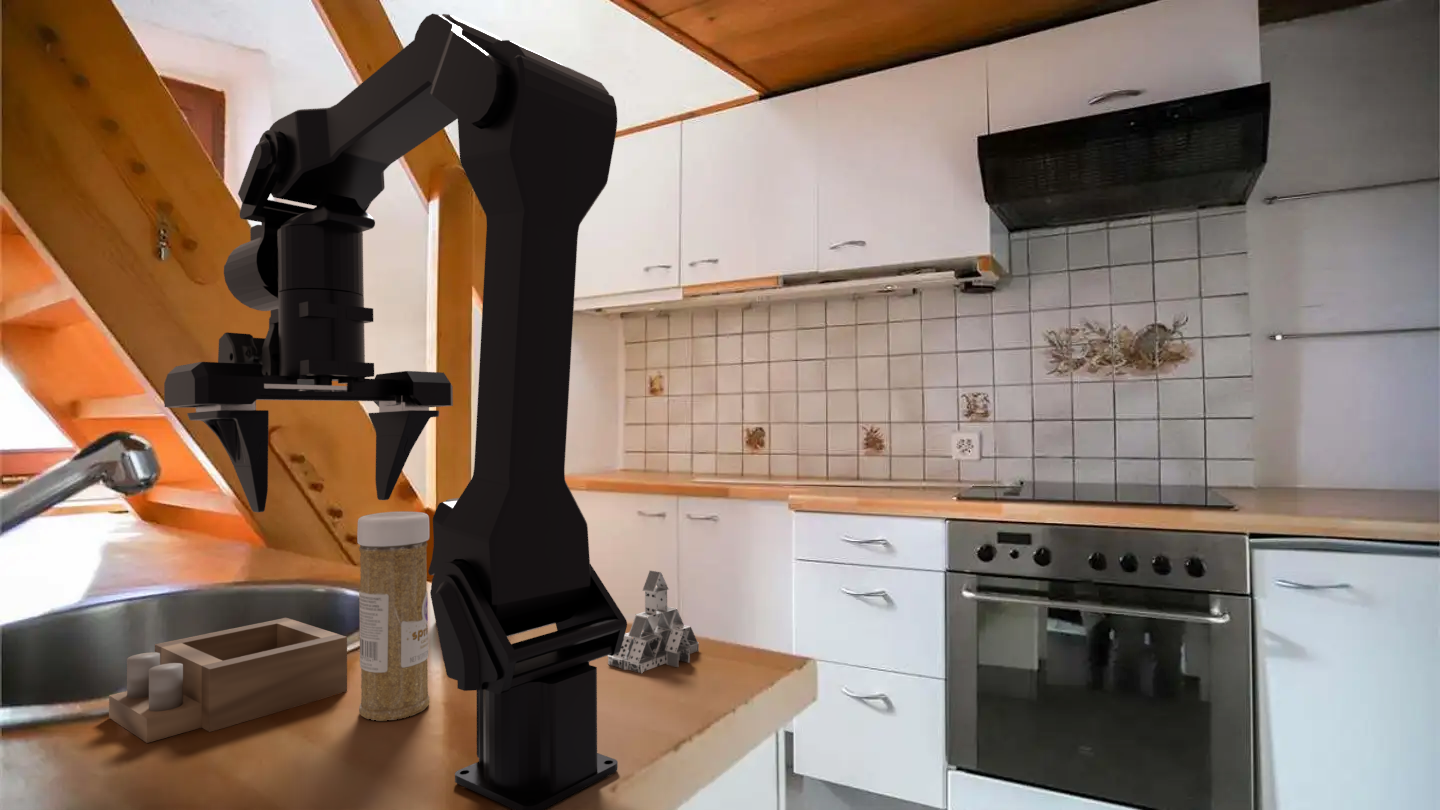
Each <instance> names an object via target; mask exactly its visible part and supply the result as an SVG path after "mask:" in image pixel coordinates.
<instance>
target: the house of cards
mask: <svg viewBox="0 0 1440 810" xmlns="http://www.w3.org/2000/svg"><path fill="white" fill-rule="evenodd" d="M662 573H663V572H662V571H656V570H655V571H654V570H649V571H648V574H647V577H646V579H645V582H644V584H643V585H644V586H643V588H642V591H641V592H644V611H642V612H639V613H635V616H634V619H633V622H632V624H631V626H630V627H631V628H630V629H629V632H625V635H624V639H623V643H622V646H621V650H620V653H618V654H615V655H612V656H611V655H608V656H607V664H608V665H609V666H612V667H616V668H618V669H621V670H623V671H626V670H627V671H632V672H635V673H639V674H643V672H646V671H648V670H651V669H654V668H657V667H659V666H662V665H665V664H666V666H671V667H675V668H679V661H681V662H685V663H688V664H690V663H691V654H693V653H696V652H700V651H699V650H700V646H699V645H700V642H699V641H698V639H697V637H696V635H695V633H694V630H693V628H692V626H690V625H685V624H684V621H683V619H682V617H681V615H680V612H679V611H678V608H677V607H672V606H668V590H670V588H669V587H668V584H667V582H666V580H665V577H664V575H663V574H662Z"/></svg>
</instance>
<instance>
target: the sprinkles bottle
mask: <svg viewBox="0 0 1440 810" xmlns="http://www.w3.org/2000/svg"><path fill="white" fill-rule="evenodd" d="M356 534H357V535H356V537H357V544H358V545H359V547H358V551H359V553H360V556H359V557H360V558H359V563H360V572H359V573H360V575H359V576H360V579H359V582H360V589H359V592H358V596H359V598H358V599H359V602H358V603H359V604H358V605H359V611H358V612H359V616H358V617H359V667H360V671H361V672H360V678H361V679H360V682H361V684H360V688H361V691H360V693H361V694H360V696H361V697H360V698H361V700H360V704H359V708H358V711H359V712H358V713H359V715H360V716H361V717H363V718H365V719H367V720H369V719H371V720H370V721H374V720H376V721H375V722H388V721H387V720H389V721H397V719H398V720H403V719H402V718H404V719H407V718H410V717H412V716H415V715H417V714H419V713H422V712H423V711H424V710H425V709H426V708H427V707H428V706H429V705H430V702H431V701H430V700H431V699H430V698H431V697H430V695H429V689H428V688H429V686H428V683H429V682H428V681H429V679H428V678H429V677H428V674H429V673H428V672H429V671H428V670H429V669H428V657H429V621H428V620H429V617H428V616H429V615H428V614H429V613H428V609H429V608H428V606H429V605H428V603H429V602H428V598H429V597H428V590H427V589H428V588H427V587H428V586H427V583H428V582H427V579H428V578H427V577H428V575H427V565H428V564H427V553H428V552H427V547H428V541H429V540H430V516H429V515H428V514H427V513H426V512H422V511H421V512H420V511H408V510H407V511H405V510H404V511H386V512H384V511H383V512H376V513H371V514H366V515H362V516H360V517H359V518H358V519H357V533H356ZM409 716H410V717H409ZM406 717H407V718H406Z"/></svg>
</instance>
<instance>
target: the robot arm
mask: <svg viewBox="0 0 1440 810" xmlns="http://www.w3.org/2000/svg"><path fill="white" fill-rule="evenodd" d="M455 121H457V126H458V127H457V128H458V129H457V131H458V133H457V134H458V147H459V148H458V149H459V161H460V165H461V167H462V169H463V171H464V173H465V175H466V177H467V179H468V181H469V183H470V186H471V187H472V189H473V191H474V195H475V196H476V197H477V200H478V201H479V203H480V206H481V208H482V210H483V211H484V215H485V218H486V234H485V235H486V236H485V252H484V253H485V255H484V269H483V270H484V273H483V274H484V275H483V290H482V291H483V293H482V307H481V309H482V311H481V313H482V314H481V332H480V350H479V351H480V352H479V366H478V367H479V369H478V388H477V389H478V390H477V405H476V406H477V408H476V409H477V410H476V423H475V424H476V425H475V428H476V429H475V445H474V467H473V471H472V472H473V473H472V477H471V479H470V481H469V482H468V484H467V485H466V487H465V488H464V490H463V491H462V493H461V495H460V496H459V497H458V498H459V499H458V501H449V502H446V501H441V502H439V503H438V504H437V506H436V510H435V511H434V514H433V516H432V532H433V533H432V534H433V548H432V556H431V560H430V565H429V567H428V574H429V576H433V577H432V579H431V584H430V585H431V586H430V591H429V592H430V598H431V599H430V600H431V604H432V609H433V614H434V618H435V619H434V620H435V625H436V630H437V633H438V634H437V635H438V640H439V645H440V648H441V649H440V650H441V655H442V661H443V663H444V667H445V673H446V676H447V677H448V678H449V679H451V680H454V681H457V689H459V690H461V691H464V692H465V691H466V692H467V691H470V692H471V691H476V756H477V758H478V761H477V762H474V763H473V764H470V765H467V766H465V767H463V768H461V769H458V770H457V771H455V773H454V783H456V784H457V785H460V786H461V787H464V788H466V789H468V790H470V791H473V792H475V793H477V794H479V795H481V796H484V797H486V798H488V799H490V800H492V801H495V802H497V803H499V804H501V805H503V806H505V807H508V808H510V809H512V810H545V809H547V808H549V807H550V806H552V805H554V804H556V803H559V802H560V801H562V800H565V799H566V798H567V797H570V796H572V795H574V794H575V793H577V792H580V791H581V790H584V789H585V788H587V787H589V786H591V785H593V784H595V783H597V782H599V781H601V780H602V779H604V778H606V777H608V776H610V775H612V774H614V773H616V772H617V771H618V767H619V764H618V760H617V759H615V758H612V757H610V756H608V755H605V754H601V753H599V752H598V681H597V680H598V675H597V674H598V670H597V669H598V668H597V666H596V665H595V666H594V665H591V664H590V662H592V661H595V660H598V659H602V658H604V657H606V656H607V657H608V655H611V656H612V655H615V654H618V653H620V650H621V646H622V643H623V639H624V635H625V633H627V632H626V630H627V627H628V621H627V618H626V617H625V615H624V614H623V612H622V611H621V610H620V608H619V606H618V605H617V603H616V601H615V600H614V598H613V597H612V595H611V594H610V592H609V591H608V589H607V588H606V586H605V584H604V583H603V581H602V580H601V578H600V577H599V575H598V574H597V572H596V570H595V569H594V567H593V566H592V565H591V559H590V546H589V545H590V544H589V542H590V541H589V529H588V528H589V527H588V522H587V520H586V518H585V516H584V514H583V512H582V510H581V508H580V506H579V504H578V502H577V501H576V498H575V497H574V494H573V493H572V491H571V488H570V487H569V486H568V483H567V481H566V477H565V476H566V475H565V472H566V471H565V470H566V469H565V468H566V450H567V431H568V415H569V412H568V411H569V398H570V397H569V396H570V378H571V361H572V360H571V359H572V347H573V346H572V344H573V342H572V341H573V325H574V310H575V309H574V307H575V290H576V275H577V254H578V239H579V229H580V225H581V224H582V222H583V220H584V219H585V217H586V216H587V215H588V213H589V211H590V210H591V208H592V207H593V205H594V204H595V203H596V201H597V200H598V198H599V197H600V196H601V194H602V192H603V190H604V189H605V188H606V186H607V184H608V180H609V175H610V170H611V164H612V163H611V162H612V158H613V152H614V147H615V142H616V135H617V129H618V128H617V127H618V108H617V103H616V101H615V97H614V96H613V95H611V94H610V92H609V91H608V90H607V89H606V87H605V86H604V85H603V83H602V82H600V81H598V80H596V79H594V78H593V77H590V76H589V75H586V74H584V73H582V72H579V71H578V70H575V69H574V68H571V67H569V66H566V65H564V64H562V63H560V62H557V61H556V60H553V59H552V58H549V57H547V56H544V55H542V54H540V53H537V52H535V51H533V50H532V49H529V48H527V47H525V46H523V45H521V44H518V43H516V42H514V41H512V40H509V39H502V38H501V37H500V36H497V35H496V34H494V33H491V32H489V31H486V30H484V29H482V28H480V27H477V26H475V24H474V25H473V24H472V23H469V22H467V21H465V20H463V19H460V18H458V17H456V16H454V15H452V14H449V13H448V14H447V13H441V14H438V13H431V14H429V15H427V16H425V17H424V18H423V20H422V21H421V22H420V24H419V25H418V27H417V30H416V33H415V34H414V39H413V40H412V41H411V42H410V43H409V44H407V45H406V46H405V47H404V48H403V49H401V50H400V51H399V52H397V53H396V54H395V55H394V56H393V57H392V58H390V59H389V60H388V61H387V62H385V63H384V64H383V65H382V66H381V67H379V68H377V70H376V71H375V72H373V73H372V74H371V75H370V76H368V78H366V79H365V80H364V81H363V82H362V83H360V84H359V85H358V86H357V87H356V88H354V89H353V90H352V91H350V93H348V94H347V95H346V96H345V97H344V98H342V99H341V100H340V101H339V102H338V103H336V104H334V105H332V106H330V107H321V108H319V107H318V108H304V109H297V110H295V111H293V112H290V113H289V114H286V115H285V116H283V117H281V118H279V119H278V120H276V121H275V122H274V123H272V125H271V126H270V128H269V129H268V130H265V131H264V132H263V133H262V135H261V137H260V138H259V141H258V144H256V146H254V149H253V153H252V155H251V158H250V161H249V163H248V165H247V169H246V170H245V174H244V177H243V179H242V182H241V184H240V188H239V190H238V193H237V194H238V195H237V196H238V197H239V199H240V200H241V201H240V202H241V206H240V211H239V217H240V219H241V220H246V221H252V222H257V223H261V224H255V225H253V226H251V227H250V231H249V232H250V237H249V238H250V241H248V242H245V243H241V244H240V245H239V246H237V247H235V248H234V249H232V251H231V253H230V254H229V255H228V257H227V260H226V262H225V264H224V266H223V275H224V276H223V278H224V282H225V284H226V286H227V288H228V290H229V291H230V293H231V294H232V296H233V297H234V298H235V299H236V300H237V301H238V302H240V303H241V304H242V305H244V306H246V307H247V308H250V309H253V310H257V311H261V312H267V311H268V312H269V311H270V317H269V318H268V331H267V334H266V336H265V338H263V337H262V338H261V337H253V335H252V334H251V333H240V332H224V334H223V335H221V336H220V338H219V339H218V355H217V362H215V361H214V362H213V361H199V362H194V363H186V364H182V365H178V366H177V365H176V366H175V367H173V369H171V371H169V372H168V373H167V374H166V376H165V377H166V378H165V380H164V386H163V387H164V388H163V389H164V392H163V393H164V396H163V397H164V404H163V405H164V408H170V409H172V408H174V409H176V408H179V409H180V408H181V409H183V408H186V409H187V408H188V409H189V408H191V409H193V408H194V409H195V412H187V413H186V415H187V417H188V419H189V420H190V421H199V422H200V421H201V422H203V423H204V424H205V425H206V426H207V427H208V428H209V430H211V431H212V432H213V434H214V435H216V437H217V438H218V440H219V442H220V444H221V445H222V447H223V448H224V449H225V451H226V453H227V455H228V457H229V459H230V461H231V465H233V468H234V470H235V473H236V476H237V478H238V480H239V483H240V485H241V488H242V490H243V492H244V495H245V497H246V499H247V502H248V504H249V506H250V509H251V511H252V513H253V512H254V513H263V512H265V510H266V505H267V497H268V490H269V421H270V420H269V419H270V418H269V416H270V415H269V413H270V412H269V411H270V410H268V409H267V410H265V409H263V410H258V409H257V404H256V403H257V401H307V402H308V401H310V402H311V401H315V402H317V401H319V402H321V401H323V402H325V401H326V402H374V404H375V405H376V406H377V407H378V412H368V417H369V420H370V422H371V424H372V426H373V429H374V431H375V475H374V476H375V479H374V480H375V489H376V496H377V497H376V498H377V500H379V501H388V500H389V499H390V497H391V496H392V493H393V492H394V489H395V487H396V485H397V482H398V480H399V478H400V475H401V473H402V472H403V469H404V467H405V465H406V462H407V460H408V459H409V456H410V453H411V452H412V450H413V447H414V446H415V445H416V443H417V441H418V439H419V437H420V436H421V434H422V433H423V431H424V429H425V427H426V425H427V424H428V422H429V420H430V419H431V418H438V417H440V410H430V408H439V407H442V408H443V407H454V399H453V398H454V395H453V394H454V393H453V387H454V386H453V384H452V383H451V381H450V380H449V378H448V377H447V375H446V373H445V372H435V371H417V370H415V371H414V370H412V371H411V370H404V371H403V370H402V371H394V372H385V373H379V374H376V375H375V363H374V362H366V361H365V360H366V359H365V358H366V355H365V354H366V353H365V352H366V351H365V348H366V347H365V345H366V344H365V324H369V323H374V308H371V307H365V297H364V296H365V295H364V294H365V292H364V242H363V241H364V233H363V232H367V231H368V230H369V231H370V230H372V229H374V228H375V226H376V221H375V219H374V218H373V216H371V215H370V214H369V213H368V212H367V211H368V209H369V207H370V206H371V204H372V202H374V200H375V199H376V198H377V197H378V196H379V195H380V194H381V193H382V192H383V191H384V190H385V171H386V170H387V168H389V167H390V166H391V165H392V164H393V163H395V162H396V161H397V160H399V159H400V158H402V157H404V155H406V154H407V153H410V152H411V151H412V150H414V149H416V147H418V146H420V145H421V144H422V143H425V141H427V140H428V139H430V138H431V137H433V136H434V135H436V134H437V133H438V132H440V131H441V130H443V129H444V128H446V127H448V126H449V125H450V124H452V123H453V122H455ZM270 196H272V198H275V199H281V200H285V201H288V202H289V201H290V202H293V203H294V202H295V203H299V204H304V205H309V206H314V207H313V208H312V207H308V206H303V205H302V206H301V205H298V204H297V205H296V204H290V203H286V202H281V201H277V200H272V199H269V198H270ZM372 377H374V378H372ZM333 382H337V384H338V385H333ZM343 384H345V385H343ZM551 625H555V626H556V627H555V628H556V630H555V631H553V632H552V631H551V632H548V633H546V634H542V635H538V636H535V637H531V638H527V639H524V640H520V641H518V642H517V641H516V642H514V643H511V641H510V639H509V638H508V637H512V636H515V635H519V634H523V633H526V632H530V631H533V630H536V629H540V628H544V627H548V626H551Z"/></svg>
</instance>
